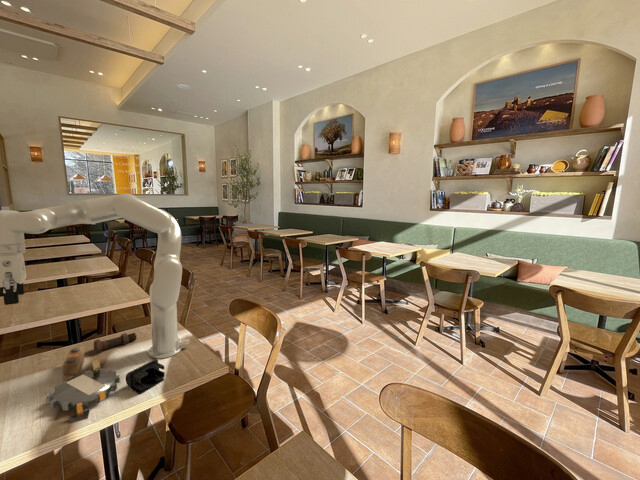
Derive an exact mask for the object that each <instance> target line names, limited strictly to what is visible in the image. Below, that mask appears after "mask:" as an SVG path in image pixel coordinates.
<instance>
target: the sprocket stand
mask: <svg viewBox="0 0 640 480" xmlns="http://www.w3.org/2000/svg"><path fill="white" fill-rule="evenodd" d="M89 415H90V409H86V410H84V407H83V403H82V402H81V403H77V407H76V413H72V415H71V419H70V423H74V422H79V421H82V420H86V419H88V418H89V417H90V416H89Z"/></svg>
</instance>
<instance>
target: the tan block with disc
mask: <svg viewBox="0 0 640 480" xmlns="http://www.w3.org/2000/svg"><path fill="white" fill-rule="evenodd" d="M84 363H85V352H84V347H83V346H81V347H73V348H71V349H69V351H68V353H67V355H66V357H65V359H64V362H63V363H62V374H63V382H65V381H67V380H68V377H71V376H77V375H80V374H81V373H82V369H83V367H84Z"/></svg>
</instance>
